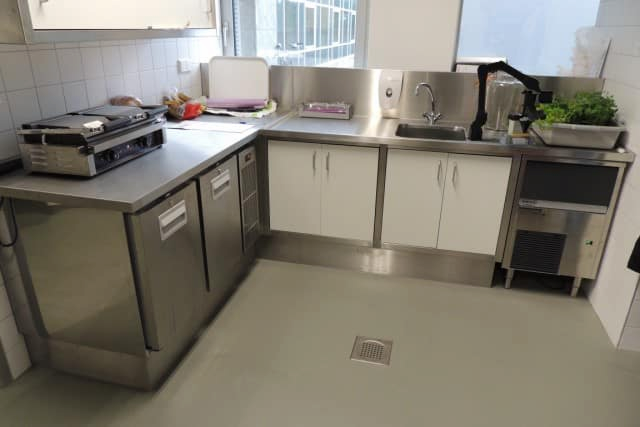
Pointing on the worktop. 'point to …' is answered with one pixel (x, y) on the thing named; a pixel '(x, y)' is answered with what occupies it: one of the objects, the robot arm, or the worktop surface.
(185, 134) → the worktop surface
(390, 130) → the worktop surface
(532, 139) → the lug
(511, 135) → the strap
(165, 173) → the worktop surface
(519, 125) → the skincare box
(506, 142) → the clamp base
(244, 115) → the worktop surface
